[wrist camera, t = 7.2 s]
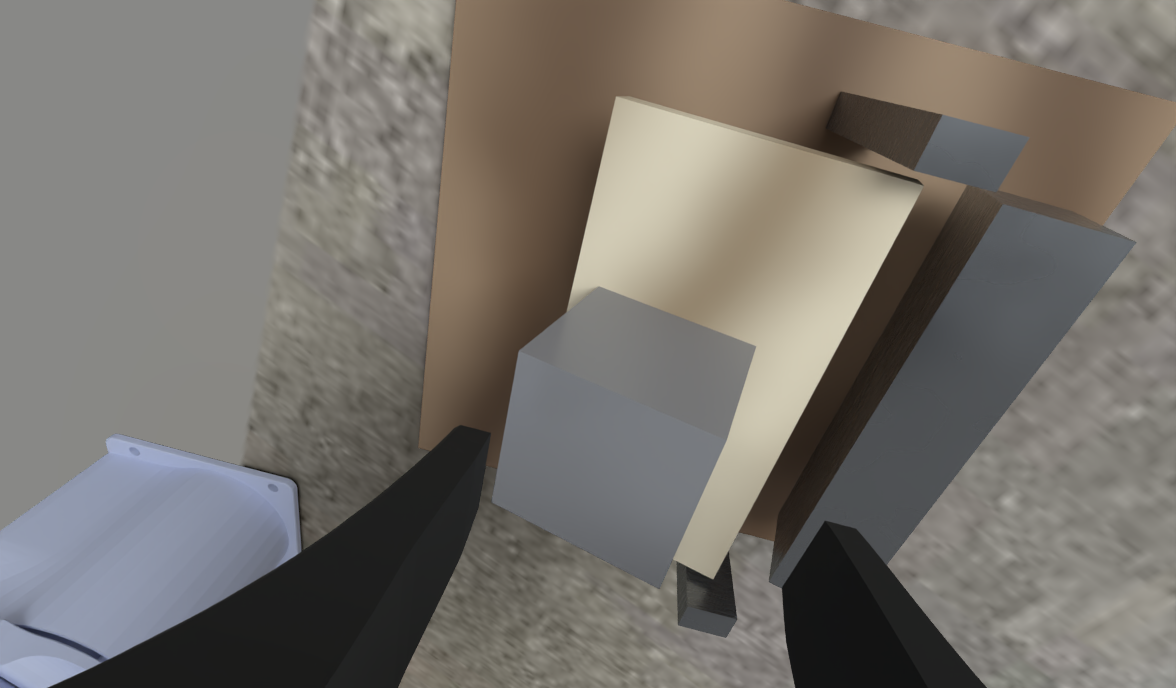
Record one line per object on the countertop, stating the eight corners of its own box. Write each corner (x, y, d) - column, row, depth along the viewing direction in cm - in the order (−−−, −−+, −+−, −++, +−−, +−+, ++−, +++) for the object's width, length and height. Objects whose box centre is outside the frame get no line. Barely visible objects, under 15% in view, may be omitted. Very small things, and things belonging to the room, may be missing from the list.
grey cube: (567, 412, 17) (491, 502, 13) (598, 286, 15) (518, 350, 11) (700, 472, 16) (659, 588, 12) (756, 346, 14) (726, 440, 10)
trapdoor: (1072, 211, 14) (1161, 254, 10) (843, 543, 20) (844, 645, 16) (666, 96, 16) (615, 96, 13) (577, 421, 23) (526, 485, 19)
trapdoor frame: (423, 439, 24) (342, 570, 18) (470, -79, 15) (333, -170, 9) (852, 551, 24) (915, 721, 18) (1170, 104, 15) (1525, 141, 9)
